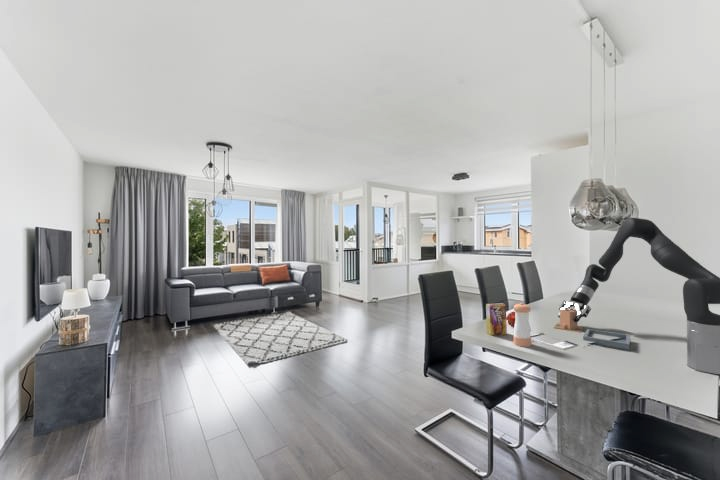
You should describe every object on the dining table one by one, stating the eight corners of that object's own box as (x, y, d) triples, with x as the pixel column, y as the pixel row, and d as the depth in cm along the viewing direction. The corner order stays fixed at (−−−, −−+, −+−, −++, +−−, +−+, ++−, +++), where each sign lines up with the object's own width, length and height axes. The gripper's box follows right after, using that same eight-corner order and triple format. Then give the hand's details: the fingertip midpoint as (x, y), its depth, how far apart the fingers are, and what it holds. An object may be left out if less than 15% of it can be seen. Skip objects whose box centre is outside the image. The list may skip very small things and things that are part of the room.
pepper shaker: (521, 347, 136) (521, 304, 136) (509, 342, 143) (509, 301, 143) (535, 345, 138) (534, 303, 138) (522, 340, 145) (522, 300, 145)
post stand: (581, 335, 151) (581, 318, 151) (553, 330, 159) (552, 314, 159) (584, 329, 160) (584, 313, 160) (557, 325, 168) (557, 310, 168)
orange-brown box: (577, 328, 157) (577, 311, 157) (568, 329, 155) (567, 312, 155) (567, 325, 163) (567, 308, 163) (558, 326, 161) (558, 310, 161)
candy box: (502, 332, 158) (501, 302, 158) (507, 334, 154) (506, 304, 154) (486, 332, 158) (485, 303, 157) (490, 335, 153) (490, 305, 153)
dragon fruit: (510, 325, 175) (523, 335, 163) (499, 317, 174) (511, 326, 162) (519, 313, 174) (532, 322, 162) (508, 305, 173) (521, 314, 161)
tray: (629, 351, 130) (629, 344, 130) (583, 342, 141) (583, 336, 140) (629, 341, 142) (629, 334, 142) (587, 334, 152) (587, 328, 152)
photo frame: (563, 348, 133) (525, 336, 149) (563, 350, 133) (525, 338, 149) (583, 342, 139) (544, 331, 155) (583, 345, 139) (544, 334, 155)
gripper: (566, 289, 168) (550, 311, 165) (592, 293, 155) (576, 318, 151) (573, 297, 170) (558, 320, 166) (600, 303, 156) (584, 327, 153)
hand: (566, 319), depth 159 cm, fingers open, 8 cm apart
